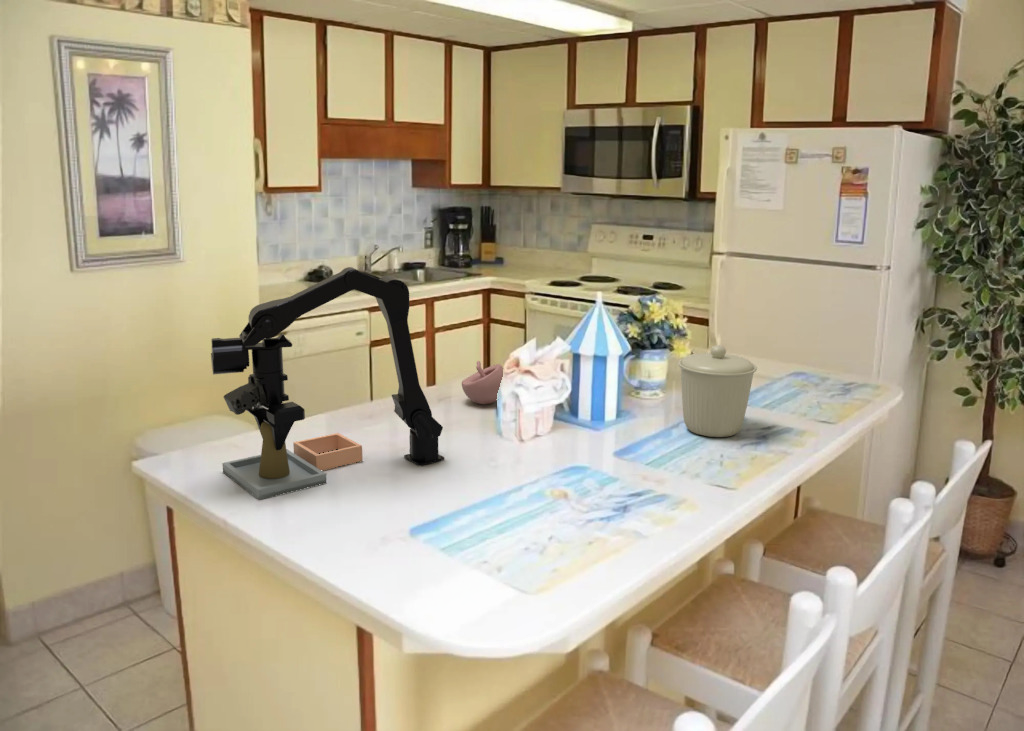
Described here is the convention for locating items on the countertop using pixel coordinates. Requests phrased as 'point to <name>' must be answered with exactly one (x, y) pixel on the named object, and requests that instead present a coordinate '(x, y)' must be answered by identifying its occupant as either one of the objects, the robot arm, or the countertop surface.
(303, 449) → the holder
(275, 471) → the olive tapered piece
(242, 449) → the countertop surface
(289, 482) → the tray
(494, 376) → the mortar and pestle
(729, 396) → the canister
